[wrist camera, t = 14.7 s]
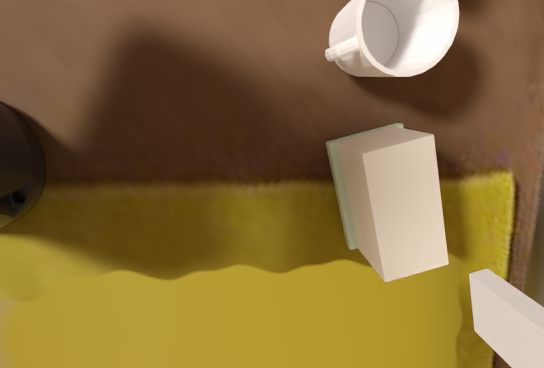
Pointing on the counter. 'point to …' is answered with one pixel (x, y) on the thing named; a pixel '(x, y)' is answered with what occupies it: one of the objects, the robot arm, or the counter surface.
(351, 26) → the mug
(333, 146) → the header block
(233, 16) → the counter surface
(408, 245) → the white rectangular block
